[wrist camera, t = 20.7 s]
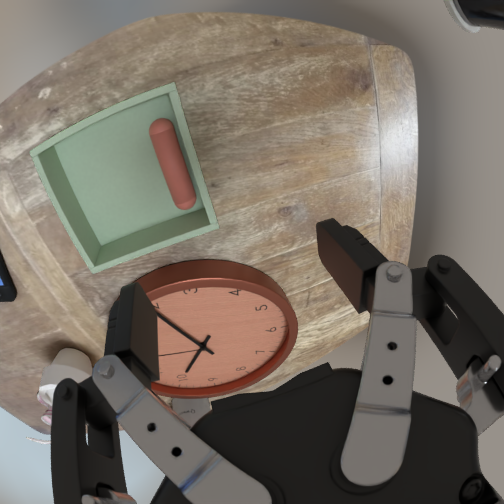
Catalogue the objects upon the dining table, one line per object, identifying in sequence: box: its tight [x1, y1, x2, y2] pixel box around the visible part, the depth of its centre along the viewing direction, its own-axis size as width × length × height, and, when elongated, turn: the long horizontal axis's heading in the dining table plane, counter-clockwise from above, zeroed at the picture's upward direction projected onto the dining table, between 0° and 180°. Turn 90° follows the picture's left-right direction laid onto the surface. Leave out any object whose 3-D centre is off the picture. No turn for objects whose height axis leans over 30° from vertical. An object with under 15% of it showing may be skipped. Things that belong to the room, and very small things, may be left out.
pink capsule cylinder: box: [149, 118, 197, 210], centre depth 27 cm, size 11×3×3 cm, turn 13°
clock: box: [117, 260, 298, 399], centre depth 43 cm, size 31×4×31 cm
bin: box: [30, 82, 220, 274], centre depth 26 cm, size 16×16×5 cm
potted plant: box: [26, 348, 93, 444], centre depth 30 cm, size 13×12×25 cm
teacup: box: [37, 392, 52, 425], centre depth 45 cm, size 12×12×6 cm
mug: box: [172, 398, 211, 426], centre depth 53 cm, size 12×9×10 cm
